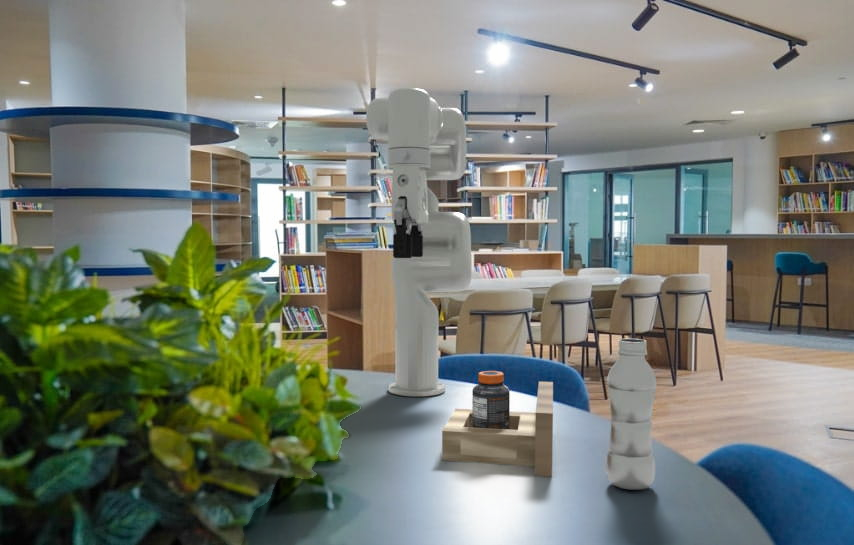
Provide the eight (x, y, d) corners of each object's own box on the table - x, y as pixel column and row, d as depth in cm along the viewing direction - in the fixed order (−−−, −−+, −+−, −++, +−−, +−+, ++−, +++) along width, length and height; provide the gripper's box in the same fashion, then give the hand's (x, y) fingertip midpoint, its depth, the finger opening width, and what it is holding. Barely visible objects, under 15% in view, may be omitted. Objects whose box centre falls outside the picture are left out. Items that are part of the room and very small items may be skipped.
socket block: (455, 434, 117) (455, 408, 116) (537, 439, 114) (538, 412, 114) (442, 460, 103) (442, 430, 103) (535, 466, 100) (535, 436, 100)
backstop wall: (538, 432, 118) (538, 381, 117) (552, 433, 117) (552, 382, 117) (534, 475, 96) (535, 412, 96) (552, 476, 96) (552, 413, 95)
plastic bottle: (663, 486, 92) (666, 340, 91) (641, 499, 87) (644, 345, 86) (619, 475, 97) (622, 335, 96) (596, 487, 92) (598, 340, 91)
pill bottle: (509, 437, 111) (509, 369, 111) (509, 448, 105) (510, 376, 105) (472, 436, 112) (473, 368, 111) (471, 447, 106) (471, 375, 106)
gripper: (420, 154, 111) (419, 258, 112) (438, 165, 128) (437, 256, 129) (375, 154, 112) (375, 258, 113) (399, 166, 129) (398, 256, 130)
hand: (408, 257), depth 121 cm, fingers open, 9 cm apart
